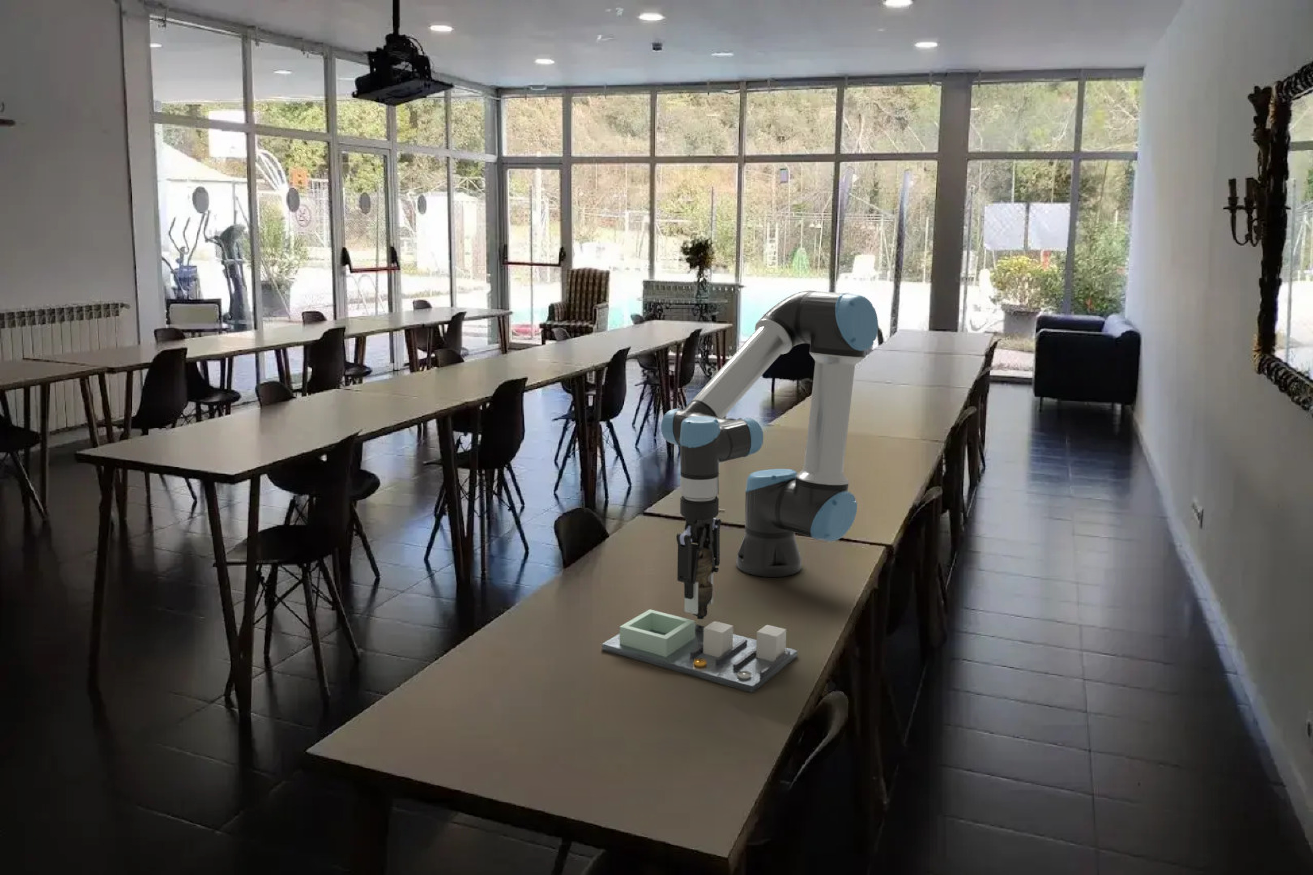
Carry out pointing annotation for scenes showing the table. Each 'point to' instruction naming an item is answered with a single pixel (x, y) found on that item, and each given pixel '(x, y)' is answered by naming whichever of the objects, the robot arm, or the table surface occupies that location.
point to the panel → (712, 661)
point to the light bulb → (704, 582)
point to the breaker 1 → (717, 639)
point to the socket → (663, 645)
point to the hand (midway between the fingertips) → (698, 607)
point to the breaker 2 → (770, 642)
